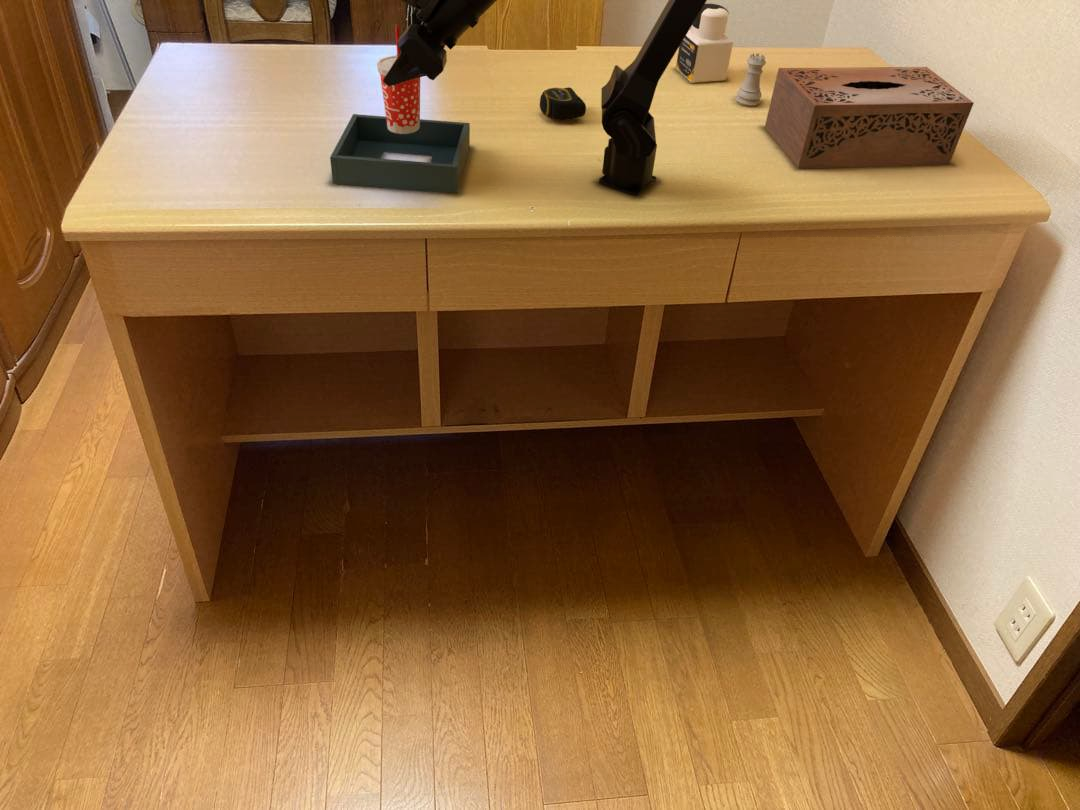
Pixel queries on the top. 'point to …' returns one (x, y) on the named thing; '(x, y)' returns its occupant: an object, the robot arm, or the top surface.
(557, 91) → the tape measure
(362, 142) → the crate
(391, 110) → the beverage cup
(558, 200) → the top surface
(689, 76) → the medicine bottle
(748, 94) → the rook chess piece
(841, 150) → the tissue box cover
